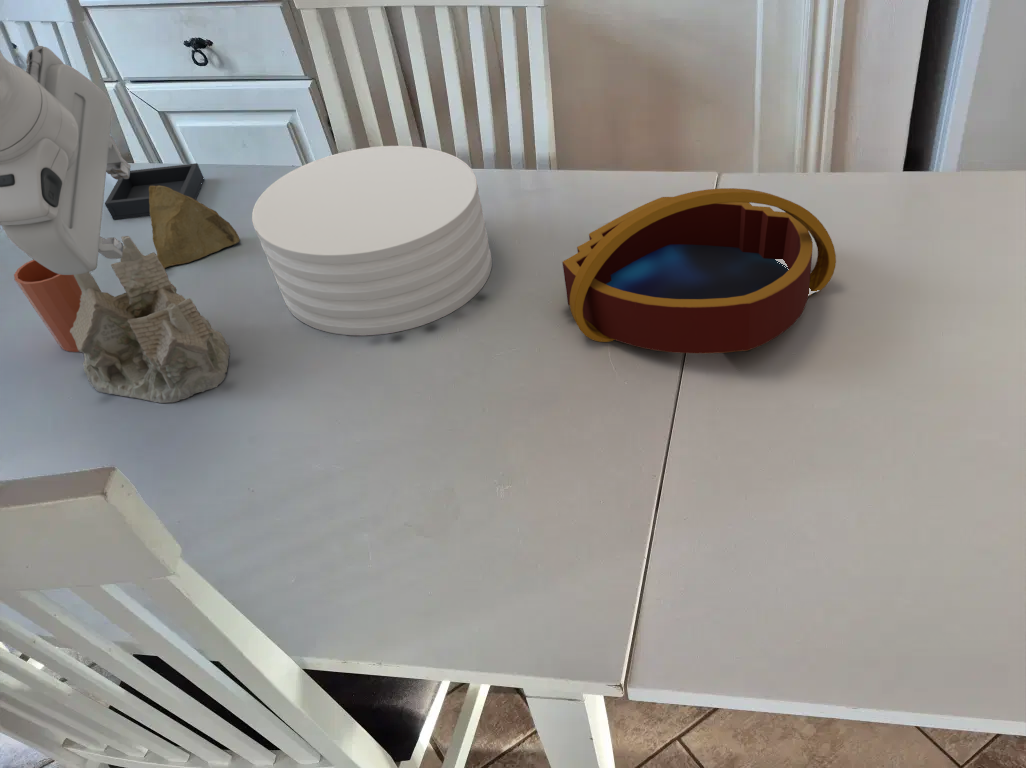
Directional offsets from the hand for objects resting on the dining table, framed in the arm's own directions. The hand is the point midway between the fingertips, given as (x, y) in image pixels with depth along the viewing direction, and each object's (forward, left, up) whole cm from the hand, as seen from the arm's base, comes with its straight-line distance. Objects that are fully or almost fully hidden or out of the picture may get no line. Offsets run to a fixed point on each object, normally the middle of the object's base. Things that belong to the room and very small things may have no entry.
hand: (120, 212), depth 90 cm
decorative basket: (+63, -4, -19) cm, 66 cm away
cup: (-15, +7, -19) cm, 25 cm away
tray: (-14, +43, -19) cm, 49 cm away
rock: (-4, +25, -19) cm, 32 cm away
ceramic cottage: (-4, -2, -19) cm, 20 cm away
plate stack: (+23, +13, -19) cm, 33 cm away
